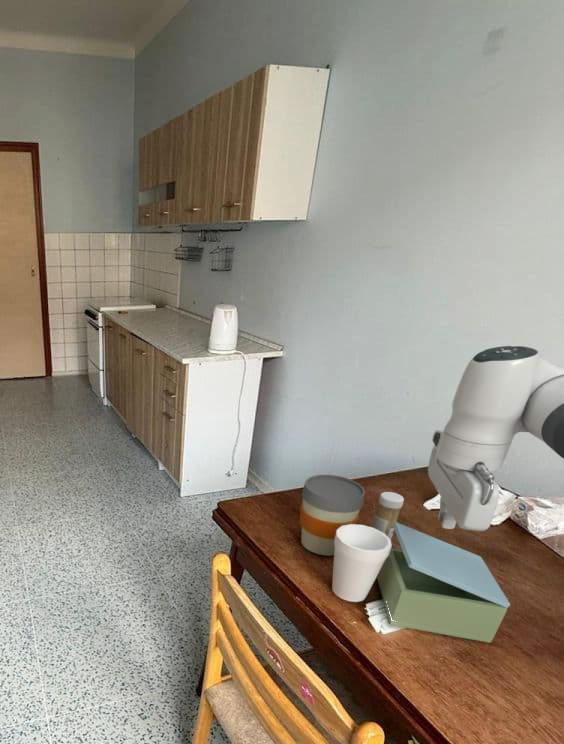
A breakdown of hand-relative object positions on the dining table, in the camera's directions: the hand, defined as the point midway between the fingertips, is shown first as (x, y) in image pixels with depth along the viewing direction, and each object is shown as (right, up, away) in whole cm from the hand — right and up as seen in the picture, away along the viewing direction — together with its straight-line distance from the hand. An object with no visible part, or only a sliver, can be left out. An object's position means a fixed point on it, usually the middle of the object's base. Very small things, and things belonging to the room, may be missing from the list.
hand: (445, 524), depth 82 cm
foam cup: (-10, -15, +13) cm, 22 cm away
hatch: (+2, -7, +3) cm, 8 cm away
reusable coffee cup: (-10, -7, +27) cm, 30 cm away
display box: (+3, -17, +8) cm, 19 cm away
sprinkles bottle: (+3, -7, +26) cm, 27 cm away
